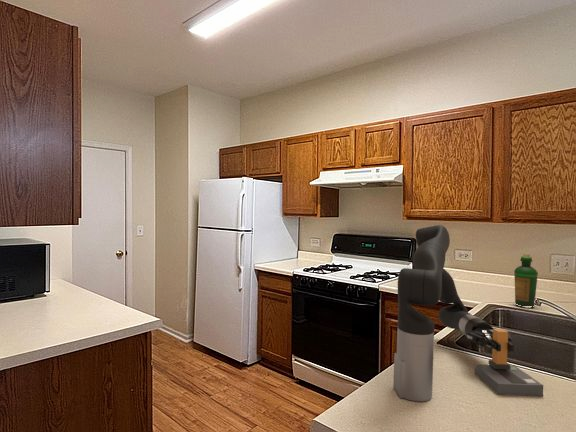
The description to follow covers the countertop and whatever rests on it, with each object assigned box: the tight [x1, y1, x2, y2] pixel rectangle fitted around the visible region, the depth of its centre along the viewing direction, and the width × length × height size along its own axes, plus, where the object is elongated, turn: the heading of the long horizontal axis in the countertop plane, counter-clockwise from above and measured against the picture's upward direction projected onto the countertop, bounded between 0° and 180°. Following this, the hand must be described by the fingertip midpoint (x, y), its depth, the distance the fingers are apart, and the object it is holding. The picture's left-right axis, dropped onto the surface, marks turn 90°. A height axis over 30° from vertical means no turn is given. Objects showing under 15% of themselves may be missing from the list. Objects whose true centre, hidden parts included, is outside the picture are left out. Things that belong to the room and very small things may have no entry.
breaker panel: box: [474, 364, 544, 397], centre depth 104 cm, size 12×12×3 cm
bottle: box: [513, 253, 539, 308], centre depth 194 cm, size 11×11×28 cm
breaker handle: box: [487, 328, 511, 369], centre depth 107 cm, size 4×4×11 cm
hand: (505, 348), depth 105 cm, fingers closed on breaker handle, 3 cm apart
